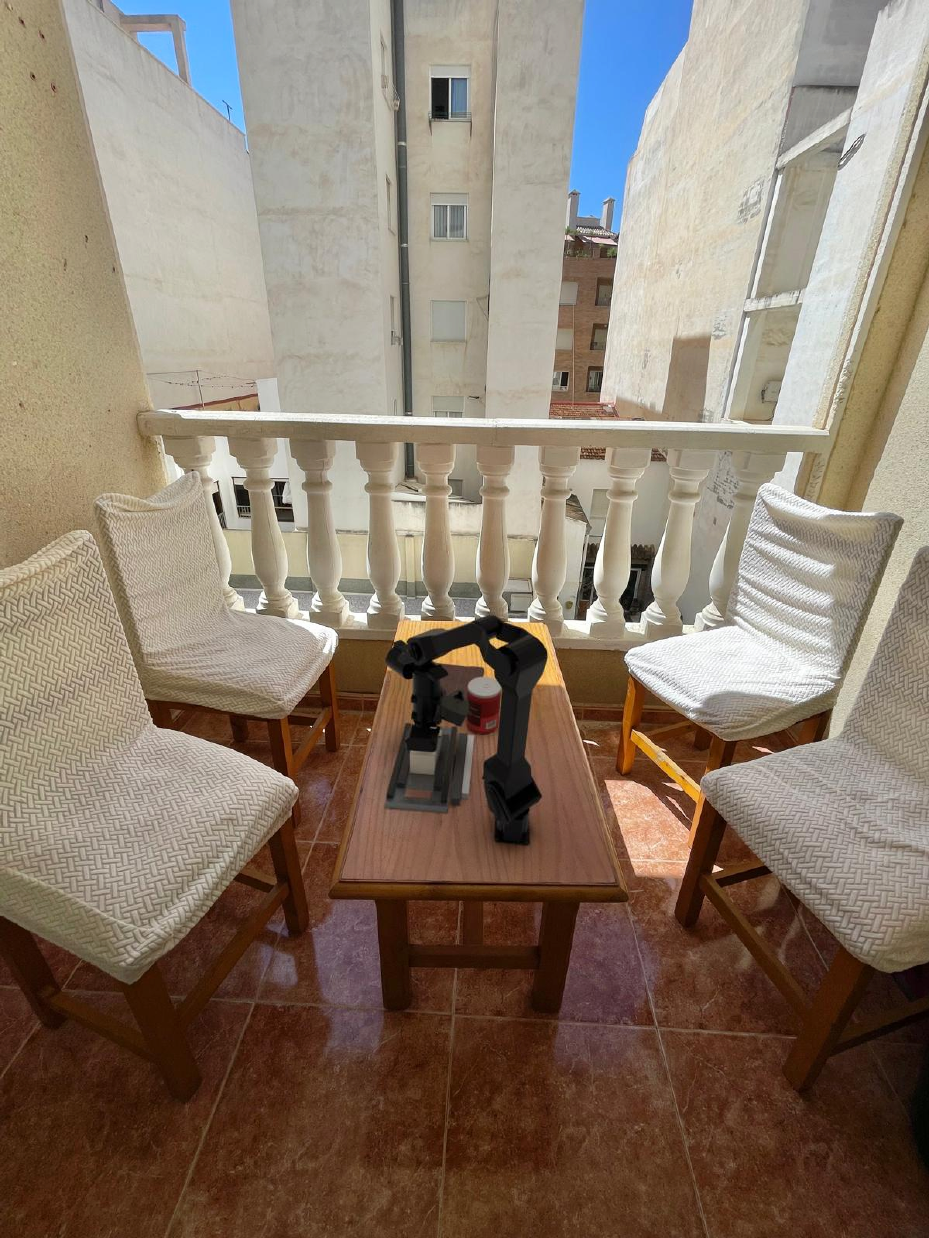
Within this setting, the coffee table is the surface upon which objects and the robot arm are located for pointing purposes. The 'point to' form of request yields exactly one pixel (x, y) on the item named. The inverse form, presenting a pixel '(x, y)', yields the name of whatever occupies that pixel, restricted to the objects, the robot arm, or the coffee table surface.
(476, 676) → the notebook
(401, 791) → the panel
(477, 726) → the canned food
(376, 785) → the coffee table surface
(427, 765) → the toggle
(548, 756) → the coffee table surface
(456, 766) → the long gray rectangular block
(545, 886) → the coffee table surface
